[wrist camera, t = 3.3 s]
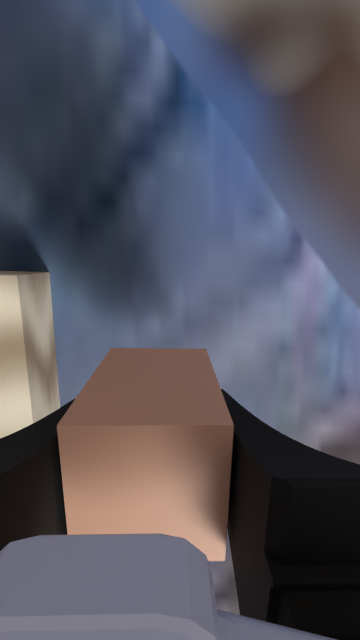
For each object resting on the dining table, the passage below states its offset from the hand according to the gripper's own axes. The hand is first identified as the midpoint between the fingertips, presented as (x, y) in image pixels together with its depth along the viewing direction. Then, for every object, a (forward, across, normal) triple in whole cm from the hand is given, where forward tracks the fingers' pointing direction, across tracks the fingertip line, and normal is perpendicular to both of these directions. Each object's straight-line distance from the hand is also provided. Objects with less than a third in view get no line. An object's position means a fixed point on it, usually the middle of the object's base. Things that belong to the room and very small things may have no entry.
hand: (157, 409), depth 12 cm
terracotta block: (+2, 0, 0) cm, 2 cm away
